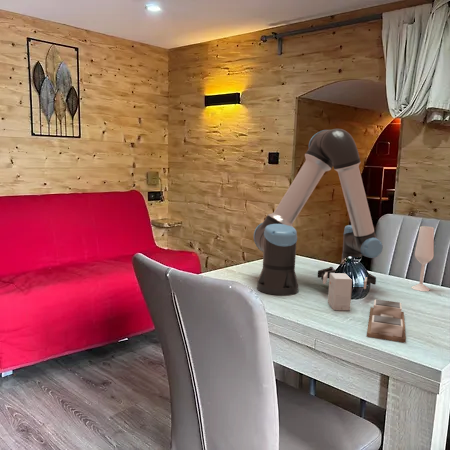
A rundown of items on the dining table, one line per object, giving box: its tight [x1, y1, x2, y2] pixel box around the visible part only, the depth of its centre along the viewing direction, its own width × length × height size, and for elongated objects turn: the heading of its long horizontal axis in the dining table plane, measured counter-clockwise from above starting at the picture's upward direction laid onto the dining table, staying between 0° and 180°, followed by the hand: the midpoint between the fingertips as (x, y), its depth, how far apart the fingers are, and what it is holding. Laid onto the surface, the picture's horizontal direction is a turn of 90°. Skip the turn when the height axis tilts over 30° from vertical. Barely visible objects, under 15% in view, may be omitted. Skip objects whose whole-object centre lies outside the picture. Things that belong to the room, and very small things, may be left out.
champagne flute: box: [411, 225, 435, 292], centre depth 172 cm, size 7×7×24 cm
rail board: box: [366, 298, 407, 343], centre depth 133 cm, size 10×24×4 cm, turn 160°
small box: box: [327, 273, 353, 311], centre depth 148 cm, size 8×6×10 cm
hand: (344, 282), depth 154 cm, fingers open, 13 cm apart
